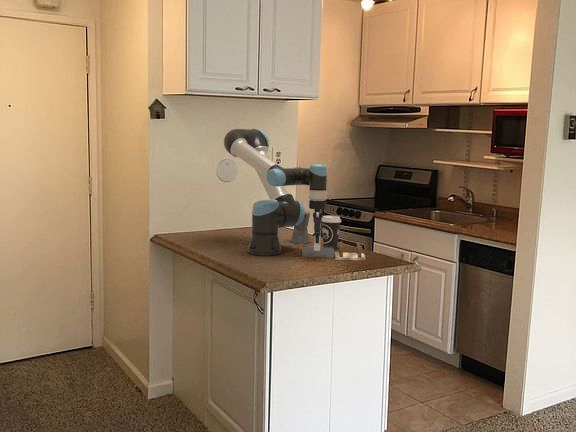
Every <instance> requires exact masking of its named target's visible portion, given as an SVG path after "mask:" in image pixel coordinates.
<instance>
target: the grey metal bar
mask: <svg viewBox="0 0 576 432" xmlns="http://www.w3.org/2000/svg"><path fill="white" fill-rule="evenodd" d="M301 246H302V248H301V258H324V259H325V258H328V259H335V255H334V254H335V251H334V250H335V249H334V246H323V245H320V251H314V245H303V244H301Z"/></svg>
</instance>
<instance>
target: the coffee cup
mask: <svg viewBox="0 0 576 432" xmlns="http://www.w3.org/2000/svg"><path fill="white" fill-rule="evenodd" d="M341 223H342V219H341V217H340V216H338V215H322V218H321V227H322V228H321V231H322V244H323V245H322V246H334V250H337V249H338V246H339V237H340V236H339V235H340V228H341V227H340V226H341Z"/></svg>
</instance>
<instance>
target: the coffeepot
mask: <svg viewBox="0 0 576 432" xmlns="http://www.w3.org/2000/svg"><path fill="white" fill-rule="evenodd" d="M310 216H311V211H308V210H305V214H304V219H303V221H302V222H301V223H300V224H299V225H297V226H293V231H292V235H291V243H293V244H299V245H300V244H301V245H303V244H306V245H307V244H308V243H310V238H309V231H308V226H309V222H310Z"/></svg>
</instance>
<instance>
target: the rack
mask: <svg viewBox="0 0 576 432" xmlns="http://www.w3.org/2000/svg"><path fill="white" fill-rule="evenodd" d="M362 249H363V246H362V245H361V242H358V241H357V242H356V252H344V245H343V241H338V251H334V260H335V261H337V260H338V261H339V260H340V261H363V262H364V261H365V262H366V255H365V253H363V251H362Z"/></svg>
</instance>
